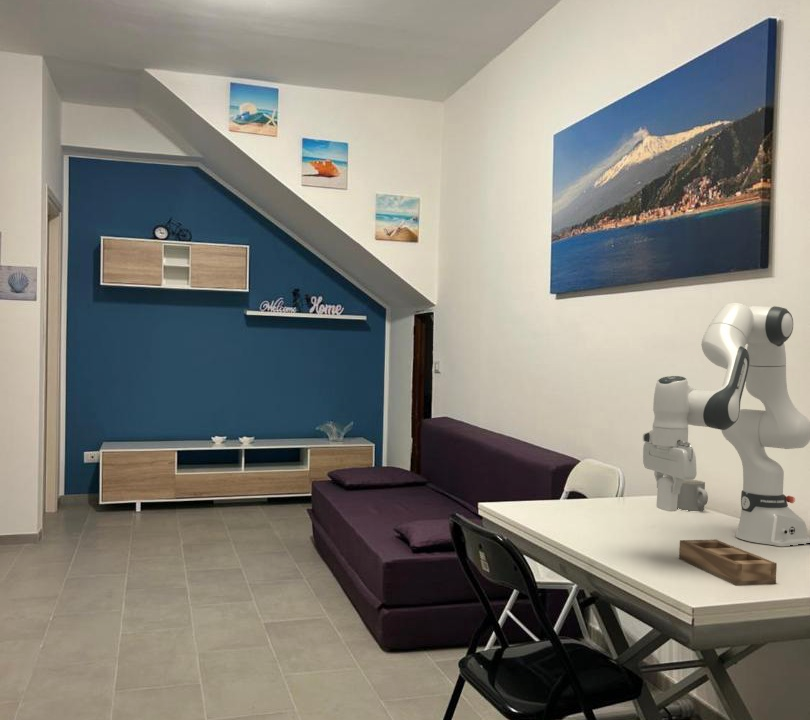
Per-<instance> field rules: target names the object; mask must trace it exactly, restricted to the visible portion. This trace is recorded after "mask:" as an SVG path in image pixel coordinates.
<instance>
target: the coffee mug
mask: <svg viewBox="0 0 810 720" xmlns="http://www.w3.org/2000/svg"><path fill="white" fill-rule="evenodd" d="M705 488H706V482H705V481H703V480H697V479H693V480H684V482H683V484H682V486H681V487H680V494H678V500H677V508H679V509H682V510H688V511H687V512H690V511H702V512H704V511H705V506H706V505H707V504H708V500H709V496H708V495H709V494H708V492H707V490H706V489H705ZM682 510H681V511H682ZM703 510H704V511H703Z"/></svg>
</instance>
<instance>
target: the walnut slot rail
mask: <svg viewBox="0 0 810 720" xmlns="http://www.w3.org/2000/svg"><path fill="white" fill-rule="evenodd" d="M678 553H679V554H678V555H679V556H678V559H679V560H680V561H683V562H684V563H687V564H689V565H691V566H693V567H696V568H697V569H700V570H702V571H704V572H706V573H709V574H711V575H713V576H714V577H717V578H719V579H721V580H723V581H726V582H728V583H730V584H732V585H734V586H749V585H750V586H752V585H753V586H756V585H757V586H758V585H776V584H777V565H778V564H777V562H774V561H773V560H770V559H767V558H764V557H761V556H759V555H756V554H754V553H752V552H749V551H747V550H744V549H741V548H739V547H738V546H737V547H736V546H734V545H731V544H728V543H726V542H724V541H722V540H718V539H681V540H679V552H678Z"/></svg>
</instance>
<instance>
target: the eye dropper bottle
mask: <svg viewBox="0 0 810 720" xmlns="http://www.w3.org/2000/svg"><path fill="white" fill-rule="evenodd" d="M673 484H674V481H673V476H670V475H667V474H664V475H663V477H662V478H660V479H659V480H658V488H657V490H656V492H657V493H656V504H655V505H656V509H660V510H661V511H666V512H677V510H678V509H677V500H678V494H673V493H671V487H673Z"/></svg>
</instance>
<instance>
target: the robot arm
mask: <svg viewBox="0 0 810 720" xmlns="http://www.w3.org/2000/svg"><path fill="white" fill-rule="evenodd" d="M709 323H710V324H709V325H708V326H707V328H706V329H705V330H706V331H705V332H704V334H703V337H702V339H701V350H702V352H703V355H704V356H705V357H706V359H707V360H708V361H710V363H712V364H714V365H715V366H717V367H720V368H723V369H725V370H726V372H725V376H724V380H723V382H722V386H721V387H720V388H717V389H714V390H712V389H711V390H708V389H694V388H693V387H692V386H690V385H689V383H688V379H687V378H686V377H684V376H682V375H681V376H679V375H671V376H663V377H661V378H659V379H658V380H657V381H656V384H655V388H654V394H653V405H652V406H653V408H652V411H653V415H654V419H653V423H652V430H649V431H647V432H645V433H643V434H642V441H643V442H644V443H643V448H642V462H643V463H642V464H643V465H644V468H645V469H647V470H650V471H653V472H654V474H653V475H654V478H655V481H656V489H658V480H659V479H660V478H662V477H664V474H667V475H670V476H673V481H674V484H673V487H671V493H673V494H680V487H681V486H682V484H683V482H684V480H696V477H697V459H696V458H697V457H696V452H695V450H694V447H693V446H692V445H691V443H690V442H689V441H688V439H689V425H690V426H696V427H703V428H704V427H705V428H711V429H716V430H720V431H721V433H722V435H723V437H724V438H725V440H726V441H728V442H729V443H730V444H731V445H732V446H733V448H735V451H736V452H737V454H738V455H739V458H740V460H741V464H742V476H743V477H742V481H743V482H742V483H743V484H742V486H743V487H742V490H741V495H740V507H741V511H740V517H739V523H738V527H737V529H736V533H735V535H734V536H735V537H736V538H737V539H740V540H743V541H746V542H751V543H757V544H764V545H771V546H776V547H790V545H793V546H799V545H798V544H804V545H807V544H806V543H810V536H808V532H807V531H808V528H807V525H806V522H805V520H804V519H803V518H801V517H800V516H799V515H798V514H797V513H795V511H793V510H792V509H791V508H790V507H788V506H789V505H788V503H790V504H794V503H795V502H796V498H795V496H791V495H785V494H784V481H785V480H784V479H785V478H784V476H785V473H784V472H785V471H784V469H783V467H782V466H781V464H780V463H779V462H777V461H775V460H774V459H772V458H771V457H770V456H768V454H767V452H766V450H765V448H773V449H781V450H783V449H784V450H791V449H793V450H794V449H803V448H805V447H806V446H807V445H808V444H809V443H810V420H809V419H808V417H807V416H805V414H803V413H802V412H800V411H799V409H798V408H796V406H795V405H794V404H793V402H792V400H791V398H790V395H789V393H788V385H787V356H786V355H787V354H786V346H785V342H786V341H788V340H789V339H790V337H791V335H792V334H793V330H794V319H793V316H792V314H791V312H790V311H789V310H788V309H787V308H785V307H782V306H781V307H780V306H776V305H773V306H764V305H751V306H747V305H745V303H744V304H743V303H740V302H729V303H727V304H725V305H723V307H721V309H720V310H719V311H718V312H717V313H716V315H715V316H714V317H713V319H712V320H711V322H709ZM746 345H747V347H746ZM744 388H745V389H746V391H747V392H748V393H749V395H750V396H752V397H753V398H755V399H757V400H759V401H760V402H761V403H762V405H763V406H764V408H765V409H764V410H761V409H750V408H749V409H747V408H743V409H741V402H742V401H741V400H742V396H743V392H744Z"/></svg>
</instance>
